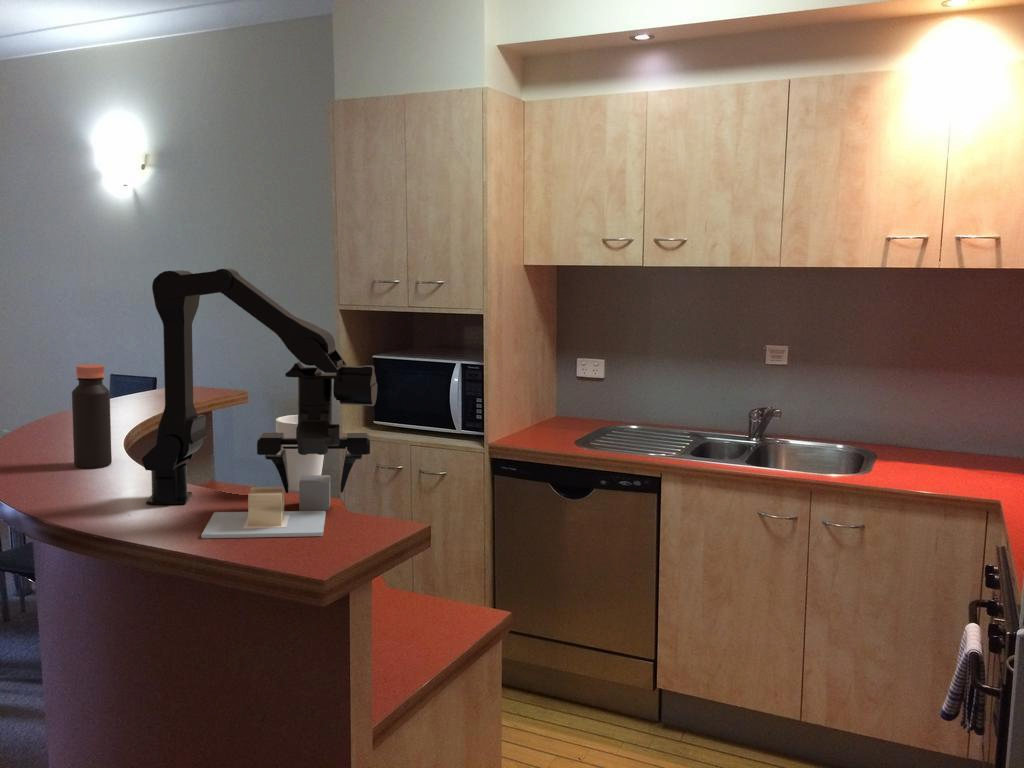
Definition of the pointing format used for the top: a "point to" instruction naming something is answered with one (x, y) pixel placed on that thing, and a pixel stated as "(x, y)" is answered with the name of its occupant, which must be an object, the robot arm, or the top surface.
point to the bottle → (91, 419)
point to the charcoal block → (314, 492)
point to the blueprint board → (291, 526)
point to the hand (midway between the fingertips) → (314, 492)
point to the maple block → (266, 506)
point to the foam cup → (297, 454)
